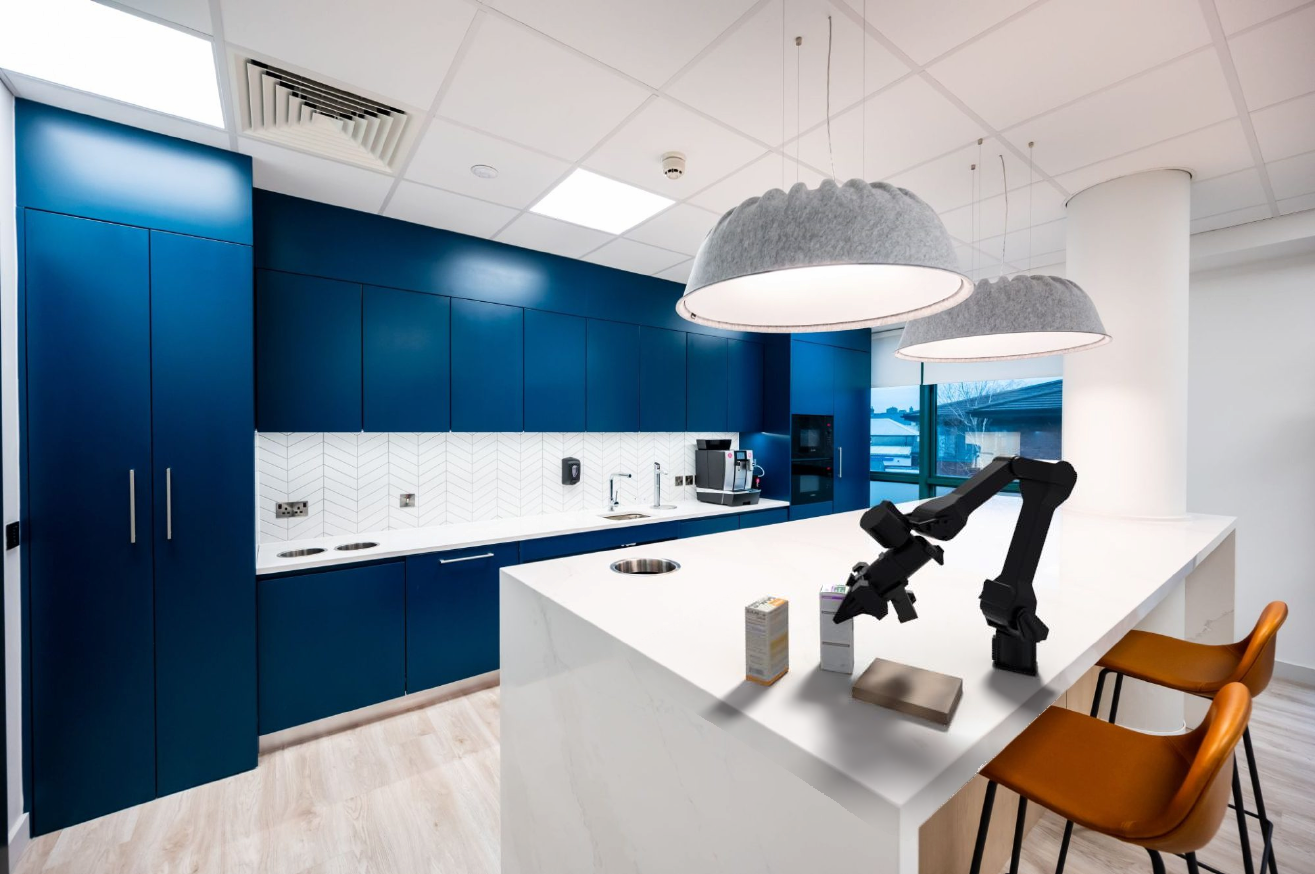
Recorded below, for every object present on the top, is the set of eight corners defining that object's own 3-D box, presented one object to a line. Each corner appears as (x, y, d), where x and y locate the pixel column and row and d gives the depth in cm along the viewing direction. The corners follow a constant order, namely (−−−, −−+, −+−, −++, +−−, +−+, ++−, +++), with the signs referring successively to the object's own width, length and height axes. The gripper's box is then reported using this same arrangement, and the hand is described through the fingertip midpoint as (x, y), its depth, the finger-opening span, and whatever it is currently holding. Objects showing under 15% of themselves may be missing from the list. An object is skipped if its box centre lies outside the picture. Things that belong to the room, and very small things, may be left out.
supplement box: (766, 663, 102) (765, 594, 101) (789, 670, 99) (789, 599, 98) (743, 679, 95) (743, 605, 95) (768, 687, 92) (768, 610, 92)
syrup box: (853, 674, 97) (853, 594, 97) (819, 669, 99) (819, 590, 99) (854, 661, 102) (854, 585, 102) (821, 657, 104) (821, 582, 104)
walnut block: (962, 693, 91) (962, 678, 91) (947, 730, 80) (947, 713, 80) (876, 670, 99) (876, 657, 99) (851, 701, 88) (851, 686, 88)
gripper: (943, 614, 86) (868, 672, 90) (928, 583, 103) (866, 633, 107) (889, 561, 89) (819, 620, 92) (883, 539, 106) (825, 590, 110)
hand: (834, 616), depth 101 cm, fingers closed on syrup box, 6 cm apart
